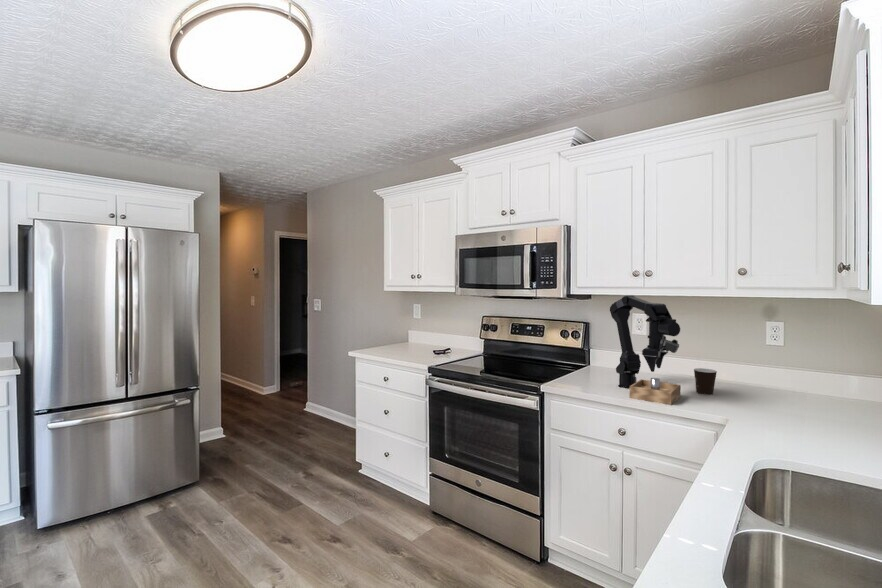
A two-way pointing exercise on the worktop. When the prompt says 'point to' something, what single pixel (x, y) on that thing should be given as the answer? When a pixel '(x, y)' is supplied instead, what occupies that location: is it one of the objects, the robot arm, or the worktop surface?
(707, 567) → the worktop surface
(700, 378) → the coffee mug
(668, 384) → the tray
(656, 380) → the peg
